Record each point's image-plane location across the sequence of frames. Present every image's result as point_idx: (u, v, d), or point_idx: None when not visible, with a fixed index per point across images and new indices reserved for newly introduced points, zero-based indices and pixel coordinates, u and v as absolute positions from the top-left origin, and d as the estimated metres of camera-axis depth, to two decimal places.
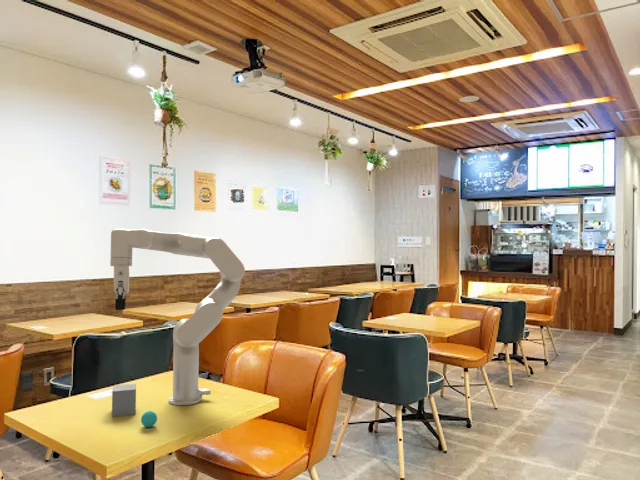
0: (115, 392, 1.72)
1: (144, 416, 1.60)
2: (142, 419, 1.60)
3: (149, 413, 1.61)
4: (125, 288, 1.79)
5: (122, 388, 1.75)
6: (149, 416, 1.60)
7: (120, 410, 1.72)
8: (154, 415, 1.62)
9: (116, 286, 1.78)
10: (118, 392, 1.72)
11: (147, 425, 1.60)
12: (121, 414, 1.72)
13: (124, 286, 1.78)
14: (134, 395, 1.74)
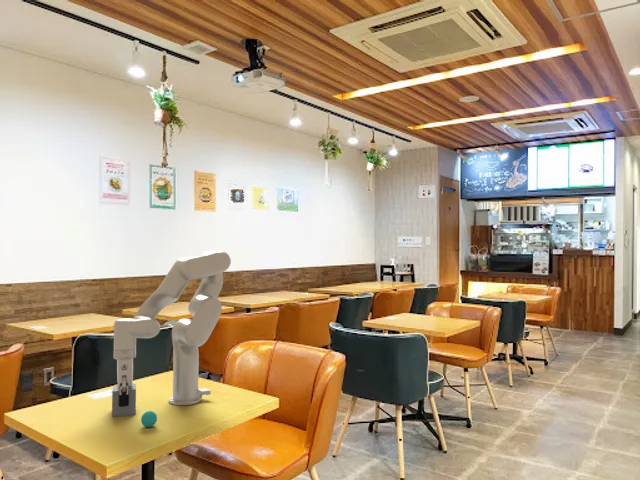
0: (115, 392, 1.72)
1: (144, 416, 1.60)
2: (142, 419, 1.60)
3: (149, 413, 1.61)
4: (129, 382, 1.72)
5: None
6: (149, 416, 1.60)
7: (120, 410, 1.72)
8: (154, 415, 1.62)
9: (120, 381, 1.71)
10: (118, 392, 1.72)
11: (147, 425, 1.60)
12: (121, 414, 1.72)
13: (128, 382, 1.72)
14: (134, 395, 1.74)
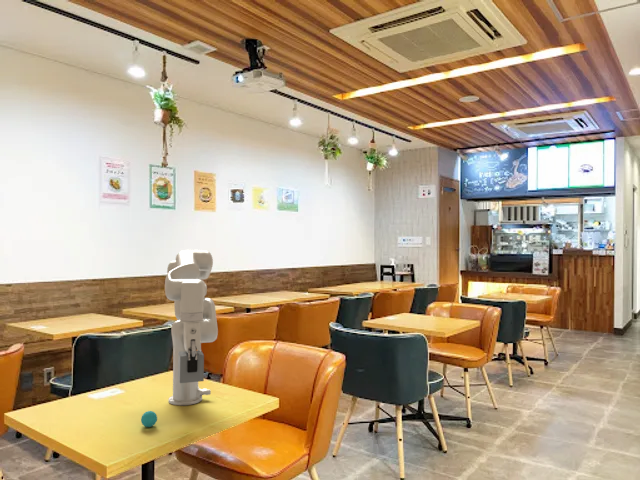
0: (183, 357, 1.63)
1: (144, 416, 1.60)
2: (142, 419, 1.60)
3: (149, 413, 1.61)
4: (198, 347, 1.63)
5: None
6: (149, 416, 1.60)
7: (188, 376, 1.63)
8: (154, 415, 1.62)
9: (188, 345, 1.62)
10: (186, 357, 1.63)
11: (147, 425, 1.60)
12: (189, 380, 1.63)
13: (197, 346, 1.63)
14: (202, 361, 1.65)
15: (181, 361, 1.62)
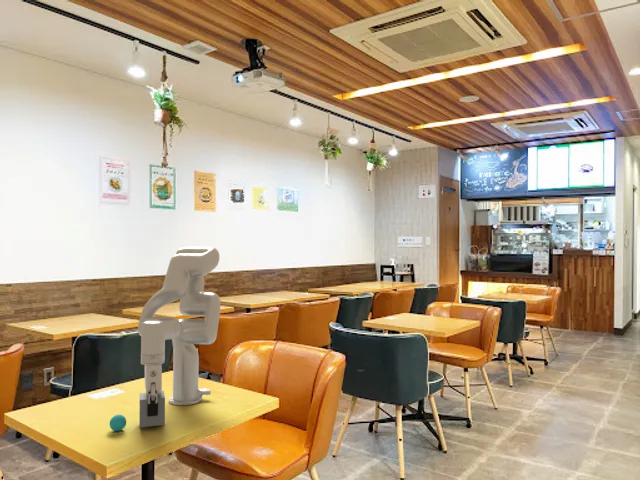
0: (143, 401, 1.58)
1: (125, 424, 1.58)
2: (125, 420, 1.58)
3: (121, 429, 1.58)
4: (158, 390, 1.59)
5: None
6: (121, 428, 1.57)
7: (148, 420, 1.59)
8: (116, 430, 1.57)
9: (148, 388, 1.58)
10: (146, 401, 1.58)
11: (117, 420, 1.57)
12: (149, 424, 1.59)
13: (157, 389, 1.58)
14: (163, 404, 1.60)
15: (141, 405, 1.58)
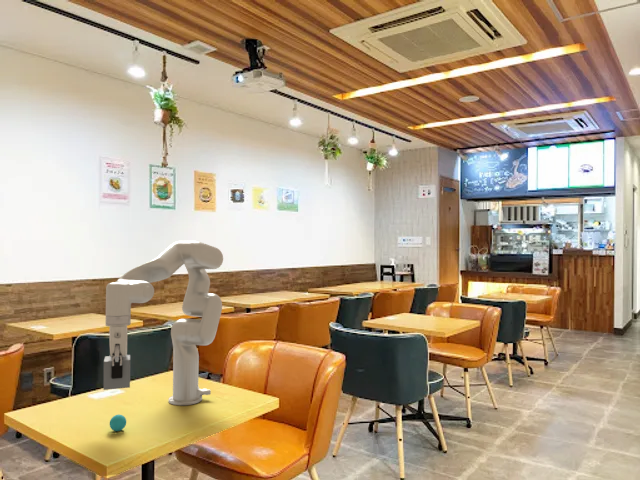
0: (107, 363, 1.54)
1: (125, 424, 1.58)
2: (125, 420, 1.58)
3: (121, 429, 1.58)
4: (123, 352, 1.55)
5: None
6: (121, 428, 1.57)
7: (112, 383, 1.55)
8: (116, 430, 1.57)
9: (112, 350, 1.54)
10: (110, 363, 1.55)
11: (117, 420, 1.57)
12: (114, 387, 1.55)
13: (121, 351, 1.55)
14: (128, 366, 1.57)
15: (105, 367, 1.54)
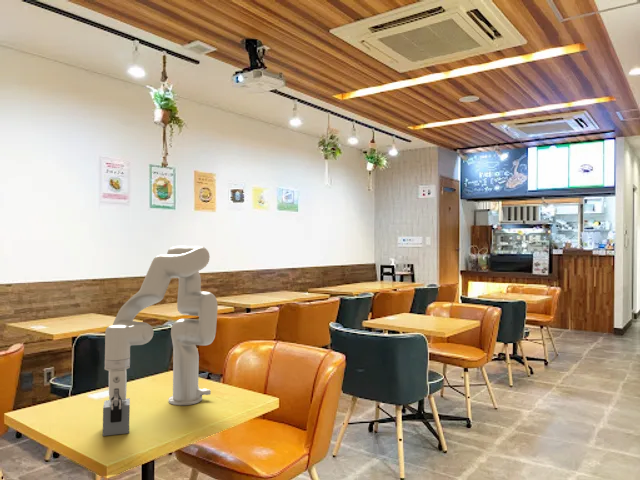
0: (106, 408, 1.54)
1: None
2: None
3: None
4: (122, 396, 1.55)
5: None
6: None
7: (112, 428, 1.55)
8: None
9: (111, 395, 1.54)
10: (110, 408, 1.55)
11: None
12: (113, 433, 1.55)
13: (121, 394, 1.55)
14: (127, 411, 1.56)
15: (104, 413, 1.54)
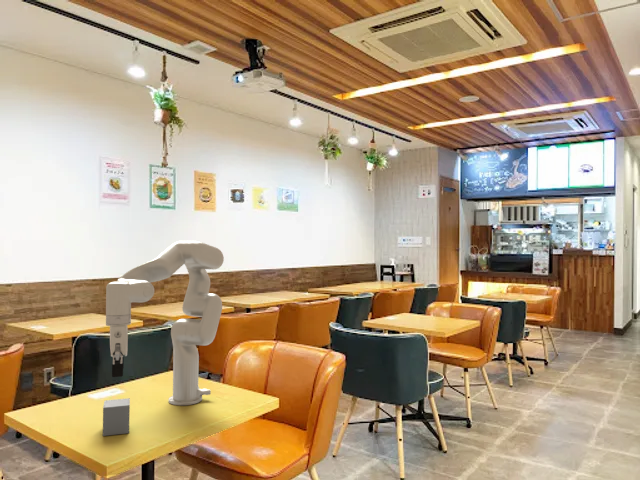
0: (106, 408, 1.54)
1: None
2: None
3: None
4: (123, 351, 1.55)
5: (114, 404, 1.57)
6: None
7: (112, 428, 1.55)
8: None
9: (113, 349, 1.54)
10: (110, 408, 1.55)
11: None
12: (113, 433, 1.55)
13: (122, 349, 1.55)
14: (127, 411, 1.56)
15: (104, 413, 1.54)
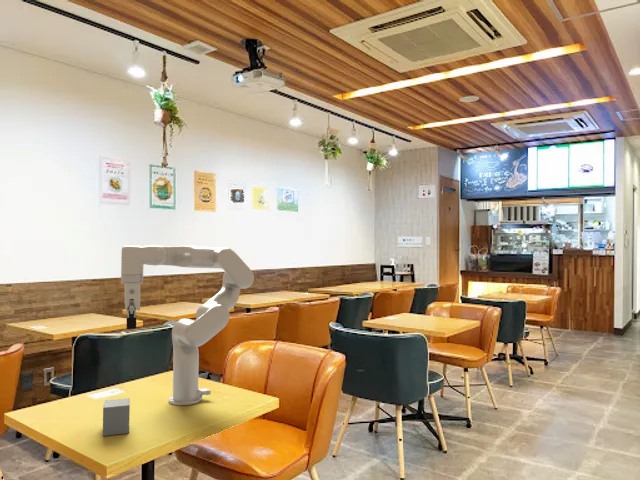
0: (106, 408, 1.54)
1: None
2: None
3: None
4: (136, 306, 1.74)
5: (114, 404, 1.57)
6: None
7: (112, 428, 1.55)
8: None
9: (127, 304, 1.73)
10: (110, 408, 1.55)
11: None
12: (113, 433, 1.55)
13: (135, 304, 1.74)
14: (127, 411, 1.56)
15: (104, 413, 1.54)
